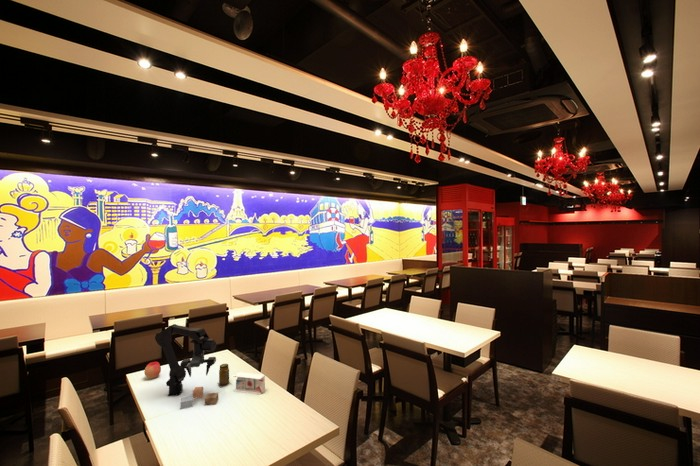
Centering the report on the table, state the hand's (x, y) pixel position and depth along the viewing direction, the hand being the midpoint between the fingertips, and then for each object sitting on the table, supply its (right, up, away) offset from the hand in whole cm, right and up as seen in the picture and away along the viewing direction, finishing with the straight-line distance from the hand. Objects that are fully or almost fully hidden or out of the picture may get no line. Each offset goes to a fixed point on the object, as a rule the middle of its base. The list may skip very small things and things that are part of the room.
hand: (198, 375), depth 187 cm
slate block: (-1, -12, -11) cm, 16 cm away
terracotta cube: (0, -12, 0) cm, 12 cm away
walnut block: (+11, -12, -8) cm, 18 cm away
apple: (-44, -13, +25) cm, 52 cm away
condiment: (+10, -12, +14) cm, 21 cm away
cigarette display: (+29, -12, +5) cm, 32 cm away
